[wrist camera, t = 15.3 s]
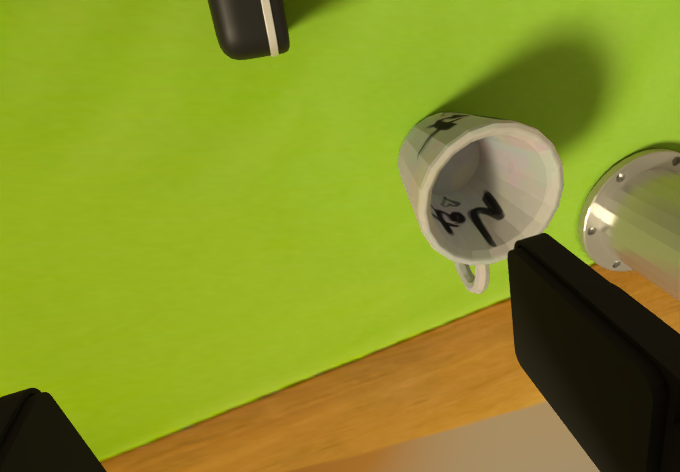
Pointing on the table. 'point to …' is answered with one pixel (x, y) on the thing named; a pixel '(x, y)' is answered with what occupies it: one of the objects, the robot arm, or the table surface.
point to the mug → (479, 187)
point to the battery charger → (250, 27)
